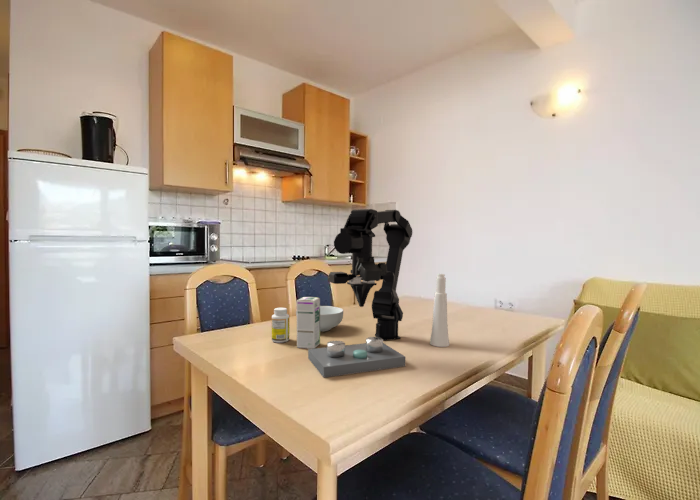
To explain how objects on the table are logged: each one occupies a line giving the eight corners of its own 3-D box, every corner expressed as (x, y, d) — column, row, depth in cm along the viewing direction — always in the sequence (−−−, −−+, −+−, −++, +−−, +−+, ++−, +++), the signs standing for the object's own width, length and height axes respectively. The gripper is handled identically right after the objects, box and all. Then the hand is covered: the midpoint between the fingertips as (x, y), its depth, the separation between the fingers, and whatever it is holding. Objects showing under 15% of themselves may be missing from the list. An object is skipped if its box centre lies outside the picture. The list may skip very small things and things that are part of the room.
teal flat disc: (363, 353, 92) (363, 349, 92) (369, 357, 89) (369, 353, 89) (350, 355, 91) (351, 350, 91) (356, 359, 88) (356, 354, 88)
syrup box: (314, 349, 103) (315, 300, 103) (295, 347, 105) (296, 299, 104) (320, 343, 109) (320, 297, 108) (302, 342, 110) (302, 296, 110)
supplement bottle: (281, 337, 115) (282, 306, 115) (292, 340, 112) (293, 308, 112) (267, 340, 111) (268, 308, 111) (278, 344, 108) (279, 311, 107)
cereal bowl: (347, 325, 133) (348, 306, 133) (336, 337, 117) (336, 315, 117) (305, 322, 137) (305, 304, 137) (288, 333, 121) (288, 312, 120)
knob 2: (378, 355, 98) (378, 336, 98) (385, 361, 94) (386, 340, 94) (363, 357, 96) (363, 337, 96) (370, 363, 92) (370, 342, 92)
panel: (380, 349, 104) (380, 341, 103) (405, 366, 91) (405, 356, 90) (308, 358, 95) (308, 349, 95) (323, 377, 82) (323, 367, 82)
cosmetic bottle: (453, 345, 109) (455, 274, 108) (439, 348, 106) (441, 275, 105) (439, 340, 114) (441, 272, 113) (425, 343, 111) (427, 273, 110)
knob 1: (341, 360, 94) (341, 340, 94) (347, 366, 90) (347, 344, 89) (324, 362, 92) (324, 341, 92) (330, 368, 88) (330, 346, 88)
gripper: (341, 254, 90) (340, 314, 91) (404, 254, 97) (403, 310, 98) (328, 252, 101) (327, 306, 101) (386, 252, 108) (385, 303, 108)
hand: (361, 306), depth 102 cm, fingers closed
